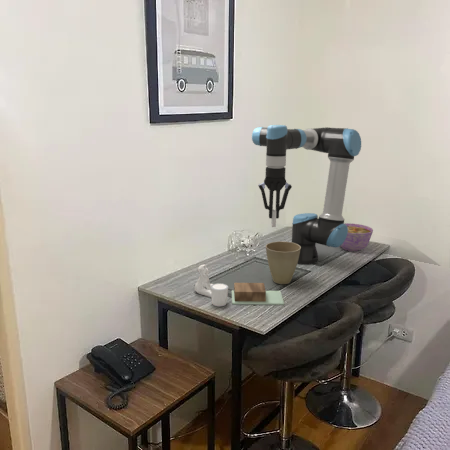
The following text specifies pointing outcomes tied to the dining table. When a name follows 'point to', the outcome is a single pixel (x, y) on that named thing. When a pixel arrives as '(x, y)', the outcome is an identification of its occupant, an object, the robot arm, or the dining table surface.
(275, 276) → the plant pot
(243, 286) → the walnut slab
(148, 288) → the dining table surface
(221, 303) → the white mug
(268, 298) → the mat
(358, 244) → the bowl of food
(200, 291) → the seated beast figurine
